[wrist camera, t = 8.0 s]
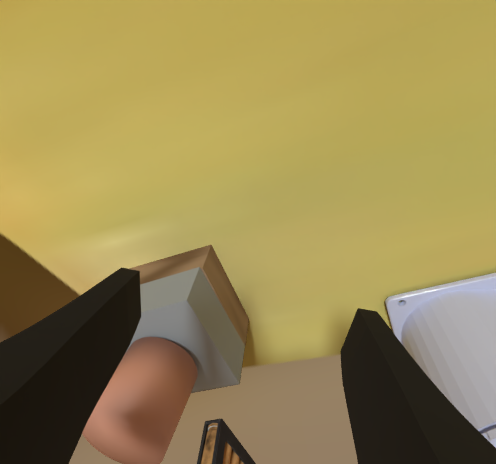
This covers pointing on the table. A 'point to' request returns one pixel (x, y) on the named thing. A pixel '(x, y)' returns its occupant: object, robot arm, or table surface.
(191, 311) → the tower top
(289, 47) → the table surface
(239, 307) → the tower base
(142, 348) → the pink cylinder
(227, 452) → the ammunition clip
